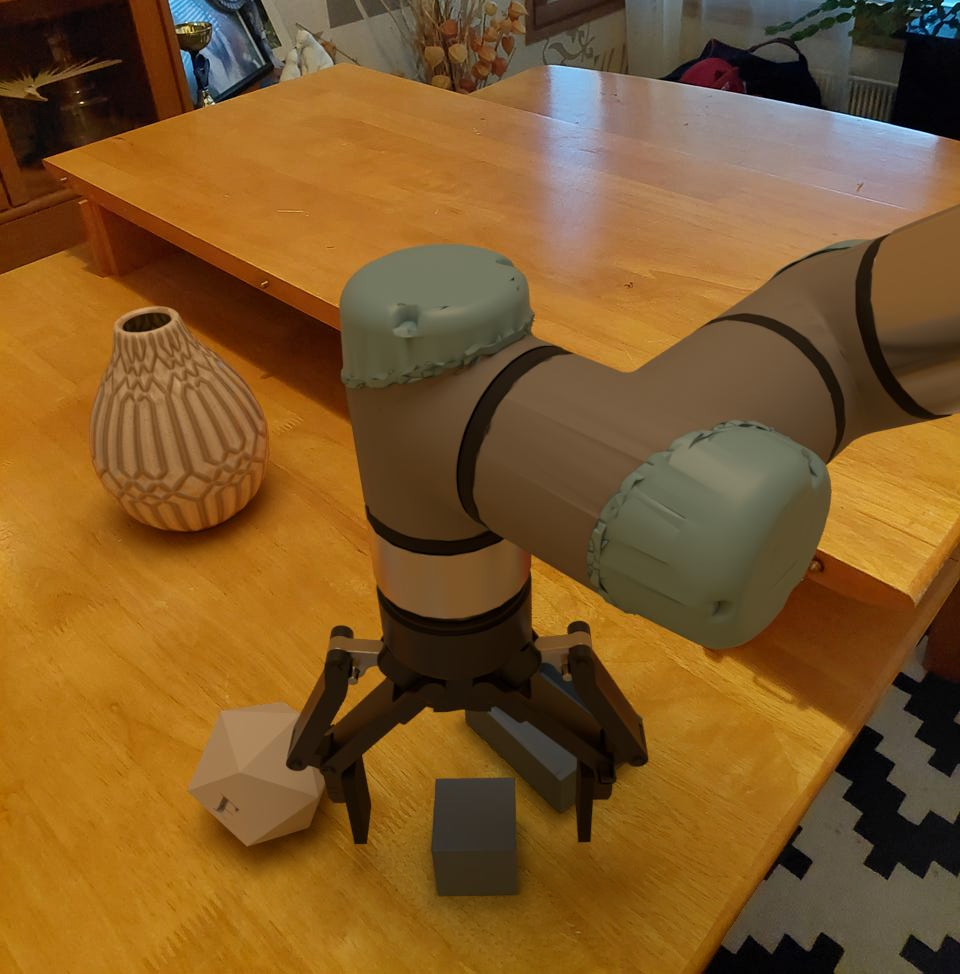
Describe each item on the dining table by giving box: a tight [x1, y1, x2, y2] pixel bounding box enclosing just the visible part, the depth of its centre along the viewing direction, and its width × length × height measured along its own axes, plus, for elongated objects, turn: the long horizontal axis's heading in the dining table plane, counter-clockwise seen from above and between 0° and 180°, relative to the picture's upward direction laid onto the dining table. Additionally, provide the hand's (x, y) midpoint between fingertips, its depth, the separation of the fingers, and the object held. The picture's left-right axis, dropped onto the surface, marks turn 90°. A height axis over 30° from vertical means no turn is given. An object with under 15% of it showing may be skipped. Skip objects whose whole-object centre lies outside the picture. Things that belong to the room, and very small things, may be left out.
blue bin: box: [464, 663, 644, 814], centre depth 66 cm, size 10×8×4 cm
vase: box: [88, 305, 270, 533], centre depth 85 cm, size 16×16×20 cm
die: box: [186, 701, 326, 847], centre depth 61 cm, size 8×9×10 cm
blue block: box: [430, 777, 519, 896], centre depth 58 cm, size 5×5×5 cm
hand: (472, 823), depth 57 cm, fingers open, 13 cm apart
